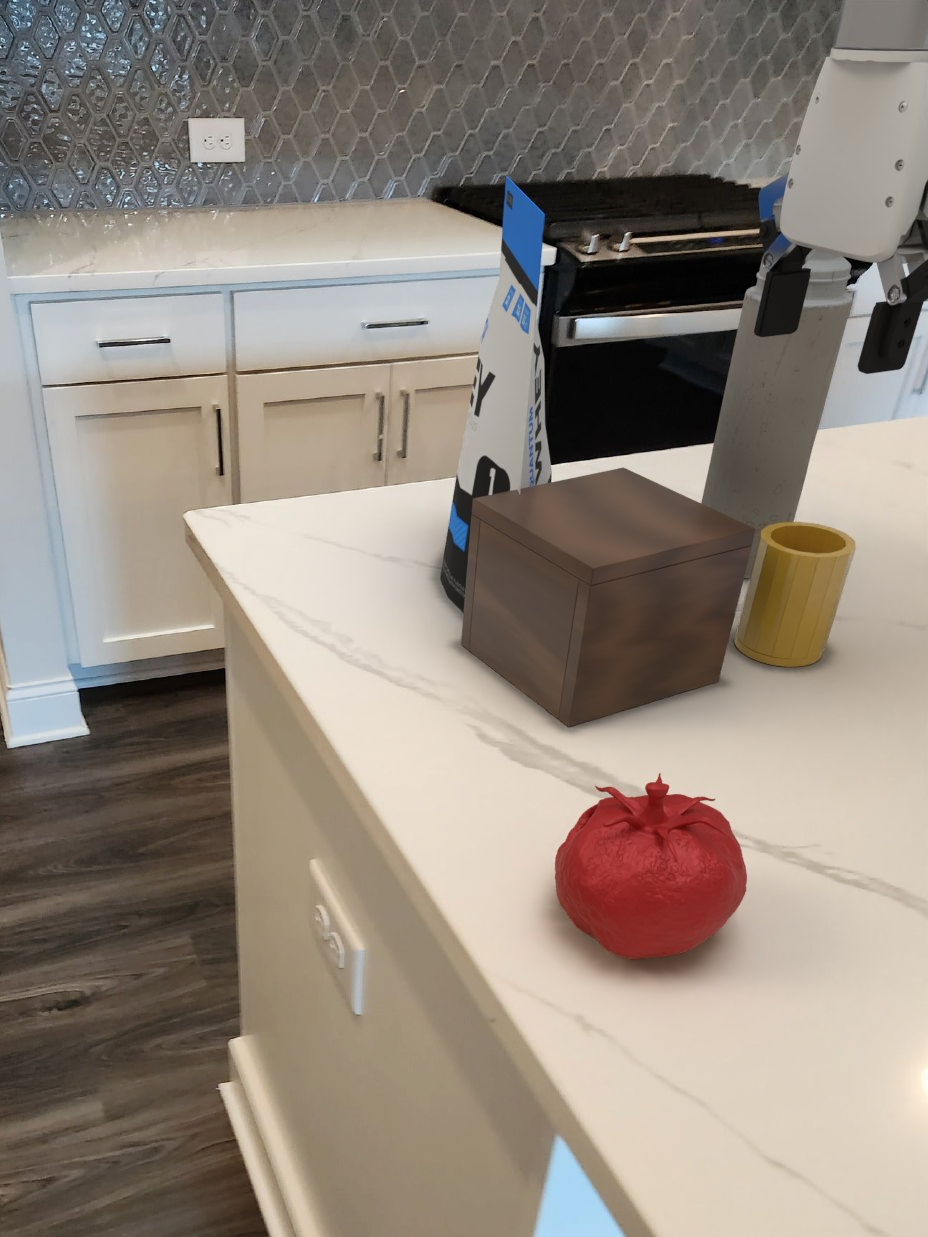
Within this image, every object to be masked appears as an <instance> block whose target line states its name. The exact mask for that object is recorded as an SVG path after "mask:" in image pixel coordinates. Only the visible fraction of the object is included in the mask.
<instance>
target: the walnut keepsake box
mask: <svg viewBox="0 0 928 1237" xmlns="http://www.w3.org/2000/svg"><path fill="white" fill-rule="evenodd" d="M755 531H756V529H755V528H753V527H750V526H748V525H746V524H744V523H742V522H740V521H738V520H735V519H733V518H731V517H729V516H727V515H725V514H722V513H720V512H718V511H716V510H714V509H712V508H710V507H707V506H705V505H703V504H701V502H698V501H697V500H694V499H692V498H690V497H688V496H686V495H684V494H682V493H679V492H677V491H675V490H673V489H671V488H669V487H666V486H665V485H663V484H660V483H658V482H656V481H654V480H652V479H650V478H647V477H645V476H643V475H641V474H638V473H637V472H635V471H632V470H630V469H628V468H626V467H619V468H614V469H609V470H605V471H599V472H595V473H591V474H584V475H580V476H576V477H575V476H574V477H570V478H566V479H561V480H556V481H551V483H546V484H541V485H536V486H531V487H526V488H522V489H521V492H520V495H519V492H518V490H512V491H507V492H502V493H497V494H493V495H488V496H483V497H478V498H474V499H473V505H472V517H471V529H470V541H469V554H468V566H467V578H466V590H465V602H464V612H463V615H462V628H461V639H460V645H461V646H463V647H464V648H465V649H466V650H468V651H469V652H471V653H472V654H473V655H474V656H476V658H478V660H480V661H481V662H483V663H484V664H485V665H487V666H488V667H490V668H491V670H493V671H495V672H496V673H497V674H499V675H500V676H501V677H503V678H504V679H505V680H507V682H509V683H511V684H512V685H513V686H515V687H516V688H517V689H518V690H520V691H521V692H523V694H525V695H526V696H527V697H528V698H530V699H531V700H533V701H534V702H535V703H536V704H538V705H539V706H541V707H542V708H543V709H545V710H546V711H547V712H548V713H549V714H551V715H553V717H555V718H556V719H558V721H560V722H562V723H563V724H564V725H565V726H567V727H573V726H576V725H580V724H584V723H586V722H589V721H592V720H593V721H594V720H596V719H599V718H602V717H606V716H609V715H612V714H616V713H619V712H622V711H626V710H629V709H632V708H635V707H638V706H642V705H645V704H650V703H651V702H655V701H659V700H662V699H665V698H669V697H671V696H674V695H679V694H681V693H685V692H688V691H691V690H694V689H698V688H701V687H704V686H708V685H712V684H715V683H717V682H719V681H720V677H721V673H722V669H723V665H724V661H725V658H726V653H727V649H728V645H729V641H730V637H731V633H732V630H733V624H734V621H735V617H736V612H737V609H738V605H739V601H740V597H741V592H742V588H743V584H744V580H745V578H744V576H745V572H746V568H747V564H748V560H749V556H750V552H751V548H752V543H753V539H754V535H755Z"/></svg>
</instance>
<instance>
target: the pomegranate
mask: <svg viewBox="0 0 928 1237" xmlns="http://www.w3.org/2000/svg"><path fill="white" fill-rule="evenodd" d="M661 775H662V773H661V772H659V773H658V776H657V779H656V780H655V781H650V782H647V783H646V784H645V786H644V790H645V792H646V794H644V795H639V796H626V795H624V794H623V793H621V792H620V790H618V789H617V788H616V787H614V786H605V787H599V786H597V785H594V787H595V789H596V790H597V791H598V792H601V793H607V794H608V795H610V797H605V798H602V799H600V800H599V801H598V803H597V804H594V805H592V806H591V807H589V808H587V809H586V810H584V812H582V814H581V815H580V817H579V818H578V819H577V822H576V823H575V824H574V826H573V827H572V828H571V829H570V830H569V832H568V833H567V836H566V839H565V841H564V842H562V843H561V844H560V845H559V847H558V848H557V850H556V854H555V857H554V858H555V859H554V872H555V873H554V881H555V893H556V897H557V900H558V902H559V906H560V907H561V909H563V911H564V912H565V914H566V915H567V916H568V918H569V919H570V920H571V922H572V923H573V925H574V926H575V927H576V928H577V929H578V930H580V931H581V932H583V933H585V934H587V935H588V936H590V937H592V938H594V939H596V940H597V941H598V943H599V944H600V946H601V948H603V949H604V950H606V951H608V952H609V953H610V954H613V955H614V956H617V957H621V958H623V959H629V960H640V959H648V958H661V957H663V958H664V957H669V956H674V955H679V954H682V953H686V952H689V951H691V950H693V949H694V948H696V947H697V946H698V945H700V944H701V943H704V942H705V941H707V940H708V939H709V938H711V937H712V936H714V935H715V934H716V933H717V932H718V931H719V930H720V929H722V928H723V927H724V926H725V924H726V923H727V922H728V921H729V919H730V918H731V917H732V916H733V914H735V912H736V911H737V909H738V908H739V907H740V905H741V903H742V902H743V899H744V897H745V895H746V892H747V883H748V872H747V868H746V867H747V866H746V863H745V861H744V856H743V850H742V847H741V844H740V842H739V841H738V840H737V837H736V835H735V834H734V832H733V830H732V827H731V824H730V822H729V820H728V819H727V818H726V817H725V815H724V814H723V813H722V812H721V811H720V810H718V809H717V808H715V807H712V806H711V805H708V804H705V803H703V802H704V801H709V802H715V801H716V798H710V797H707V796H695V797H691V796H687V795H685V794H681V793H672V794H668V793H669V790H670V784H667V783H664V782H663V779H662V777H661Z"/></svg>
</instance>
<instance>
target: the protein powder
mask: <svg viewBox="0 0 928 1237" xmlns="http://www.w3.org/2000/svg"><path fill="white" fill-rule="evenodd" d="M502 215H503V216H502V229H501V246H500V258H499V261H500V262H499V272H498V273H499V275H498V281H497V284H496V288H495V291H494V293H493V298H492V300H491V303H490V307H489V310H488V313H487V316H486V320H485V323H484V327H483V329H482V333H481V336H480V339H479V340H480V341H479V346H478V354H477V361H476V368H475V373H474V378H473V384H472V389H471V395H470V401H469V406H468V411H467V416H466V422H465V427H464V432H463V437H462V442H461V443H462V444H461V449H460V454H459V459H458V465H457V471H456V477H455V483H454V489H453V493H452V494H453V495H452V500H451V507H450V508H451V509H450V514H449V520H448V526H447V533H446V540H445V545H444V552H443V557H442V564H441V569H440V576H439V580H440V582H441V585H442V588H443V590H444V592H445V594H446V596H447V599H449V600H450V601H451V602H452V603H453V604H454V605H455V606H456V607H457V608H458V609H459V610H460V611H461V612H462V613H464V602H465V590H466V578H467V566H468V554H469V541H470V529H471V517H472V505H473V499H474V498H478V497H483V496H488V495H493V494H497V493H502V492H507V491H512V490H518V492H519V495H520V492H521V489H522V488H526V487H531V486H536V485H541V484H546V483H551V482H552V480H553V479H552V477H553V476H552V474H553V470H552V463H551V455H550V449H549V443H548V442H549V441H548V434H547V429H546V428H547V427H546V401H545V400H546V398H545V397H546V396H545V395H546V392H545V391H546V390H545V387H546V386H545V384H546V383H545V357H544V352H543V346H542V341H541V336H540V332H539V327H538V321H537V311H538V299H539V289H540V285H539V284H540V278H541V277H540V276H541V266H542V265H541V264H542V256H543V255H542V254H543V245H544V244H543V235H544V232H545V219H546V214H545V213H544V212H543V211H542V209H540V208H539V207H538V205H537V204H535V202H534V201H532V199H530V198H529V196H527V195H526V194H525V192H524V191H522V190H521V189H520V187H519V186H518V185H516V184H515V183H514V181H513V180H512V179H511V178H510V177H509V176H507V175H506V176H505V186H504V201H503V214H502Z"/></svg>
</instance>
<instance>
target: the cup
mask: <svg viewBox="0 0 928 1237" xmlns="http://www.w3.org/2000/svg"><path fill="white" fill-rule="evenodd" d="M856 549H857V546H856V541H855V539H853V537H851V536H850V535H849V534H847V533H846V532H844V531H842V530H839V529H837V528H836V527H835V528H834V527H831V526H827V525H823V524H819V523H815V522H805V521H794V522H782V523H781V522H780V523H776V524H772V525H768V526H767V527H765V528H764V529H763V530H761V533H760V537H759V541H758V545H757V549H756V553H755V557H754V561H753V565H752V569H751V573H750V577H749V578H748V582H747V585H746V589H745V593H744V596H743V597H744V598H743V602H742V605H741V610H740V614H739V618H738V622H737V625H736V632H735V636H734V645H735V647H736V648H737V650H738V651H740V652H741V653H742V655H745V656H746V657H748V658H750V659H752V660H754V661H757V662H759V663H763V664H768V665H771V666H777V667H787V668H797V667H806V666H809V665H812V664H815V663H816V662H818V661H820V660H821V658H822V657H823V654H824V651H825V649H826V648H827V643H828V641H829V637H830V634H831V631H832V627H833V624H834V622H835V617H836V614H837V610H838V607H839V606H840V600H841V597H842V594H843V591H844V589H845V586H846V585H845V584H846V581H847V578H848V575H849V572H850V568H851V565H852V563H853V562H852V561H853V558H854V555H855V552H856Z"/></svg>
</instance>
